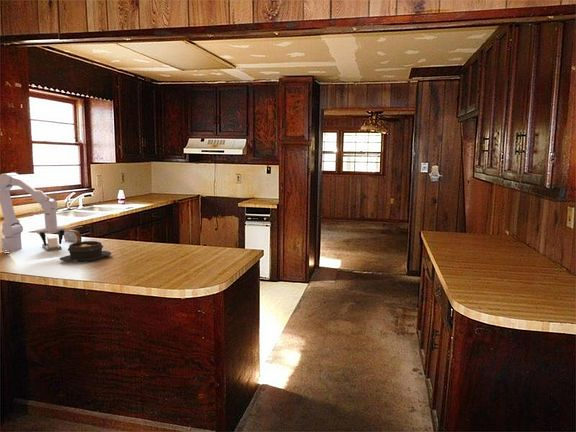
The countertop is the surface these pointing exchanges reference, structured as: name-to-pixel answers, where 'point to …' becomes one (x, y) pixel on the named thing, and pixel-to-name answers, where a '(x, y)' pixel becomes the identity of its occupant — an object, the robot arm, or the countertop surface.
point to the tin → (72, 235)
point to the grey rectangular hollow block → (51, 248)
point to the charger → (52, 242)
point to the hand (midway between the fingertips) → (52, 244)
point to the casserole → (85, 251)
